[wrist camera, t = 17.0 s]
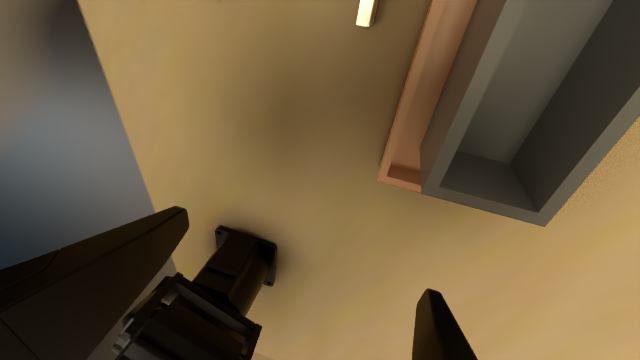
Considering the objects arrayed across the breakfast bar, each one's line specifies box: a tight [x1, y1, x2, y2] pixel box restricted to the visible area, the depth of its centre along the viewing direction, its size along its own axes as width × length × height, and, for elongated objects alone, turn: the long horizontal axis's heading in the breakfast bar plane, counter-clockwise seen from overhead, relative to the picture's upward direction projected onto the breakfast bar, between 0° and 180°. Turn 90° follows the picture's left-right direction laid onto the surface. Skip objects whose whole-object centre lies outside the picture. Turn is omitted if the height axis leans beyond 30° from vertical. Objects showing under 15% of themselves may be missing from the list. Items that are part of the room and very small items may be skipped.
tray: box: [376, 0, 477, 193], centre depth 13 cm, size 15×9×2 cm, turn 172°
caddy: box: [420, 0, 640, 227], centre depth 11 cm, size 11×5×5 cm, turn 173°
